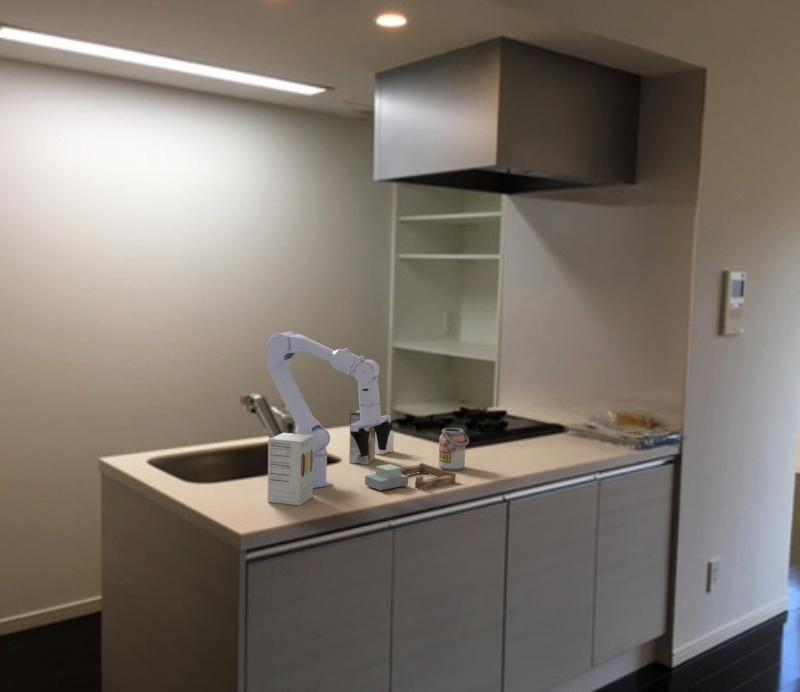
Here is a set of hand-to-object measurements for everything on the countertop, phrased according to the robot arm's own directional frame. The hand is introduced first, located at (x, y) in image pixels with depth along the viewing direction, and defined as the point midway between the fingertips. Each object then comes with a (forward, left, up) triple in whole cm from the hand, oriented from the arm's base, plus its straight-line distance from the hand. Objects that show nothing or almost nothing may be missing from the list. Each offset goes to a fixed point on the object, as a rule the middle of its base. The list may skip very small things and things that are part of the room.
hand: (373, 452), depth 220 cm
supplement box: (-23, +5, -11) cm, 26 cm away
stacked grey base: (+6, +1, -11) cm, 12 cm away
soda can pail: (+36, +6, -11) cm, 38 cm away
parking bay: (+18, +1, -11) cm, 21 cm away
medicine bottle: (+30, +36, -11) cm, 48 cm away
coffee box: (+18, +29, -11) cm, 36 cm away
